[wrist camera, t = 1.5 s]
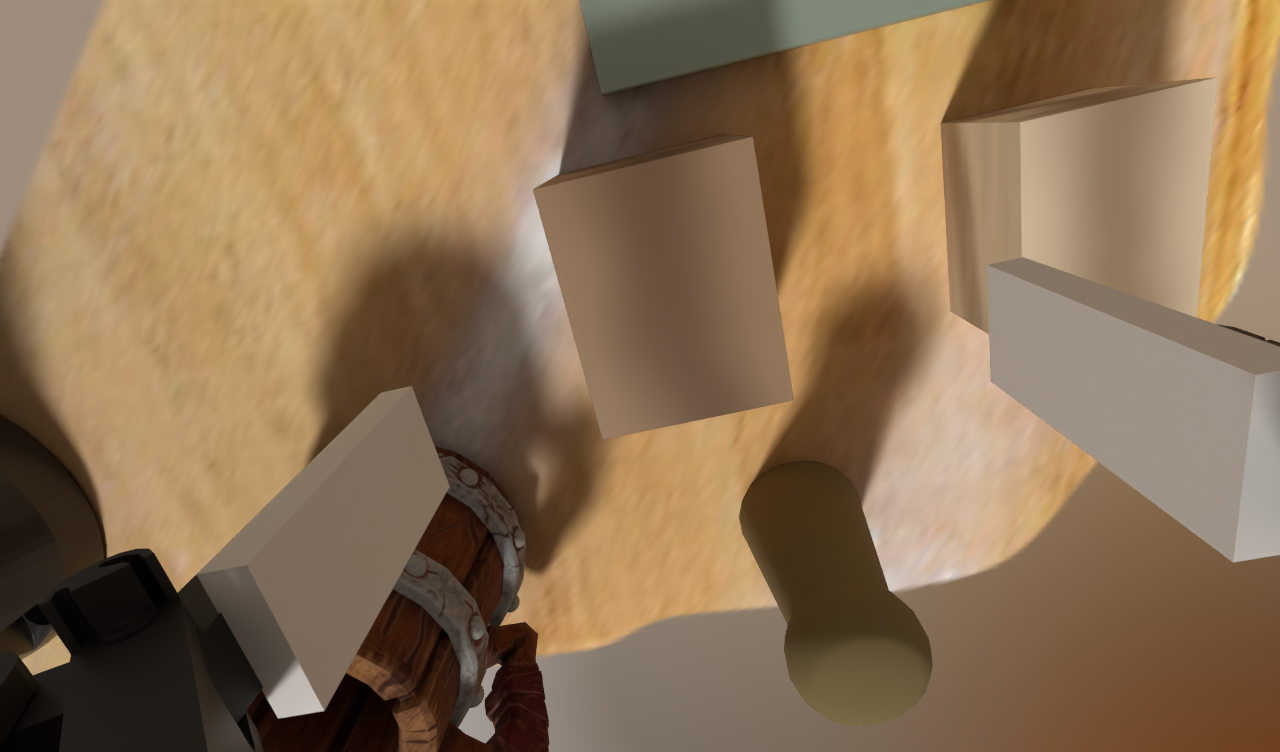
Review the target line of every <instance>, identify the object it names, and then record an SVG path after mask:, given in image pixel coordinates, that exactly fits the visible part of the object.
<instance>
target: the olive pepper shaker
mask: <svg viewBox="0 0 1280 752" xmlns="http://www.w3.org/2000/svg"><path fill="white" fill-rule="evenodd" d="M739 519H740V524H741V529H742V533H743V535H744V537H745V539H746V541H747V543H748V545H749V547H750V549H751V551H752V553H753V555H754V557H755V560H756V562H757V564H758V566H759V568H760V570H761V572H762V574H763V576H764V578H765V580H766V582H767V584H768V586H769V588H770V590H771V592H772V594H773V596H774V598H775V600H776V602H777V604H778V606H779V608H780V610H781V612H782V614H783V616H784V618H785V620H786V622H787V624H788V626H787V631H786V635H785V646H784V652H785V657H786V662H787V667H788V671H789V675H790V679H791V681H792V682H793V684H794V685H795V687H796V689H797V690H798V692H799V693H800V695H801V696H802V698H803V699H804V701H805V702H806V703H807V704H808V705H809V706H811V707H812V708H813V709H815V710H816V711H817V712H819V713H820V714H821V715H823V716H824V717H826V718H827V719H828V720H831V721H834V722H837V723H840V724H843V725H850V726H870V725H876V724H882V723H885V722H888V721H890V720H892V719H895V718H897V717H900V716H901V715H903V714H904V713H906V712H907V711H908V710H910V709H911V708H912V707H914V706H915V705H916V703H917V702H918V701H919V700H920V698H921V697H922V696H923V695H924V693H925V691H926V688H927V685H928V682H929V679H930V675H931V671H932V655H931V648H930V643H929V639H928V636H927V635H926V633H925V631H924V629H923V627H922V626H921V624H920V622H919V620H918V619H917V617H916V615H915V614H914V612H913V611H912V610H911V609H910V608H909V607H908V606H907V605H906V604H905V603H904V602H902V601H901V600H900V599H899V598H898V597H896V596H895V595H894V594H893V593H892V592H890V591H889V589H888V586H887V583H886V580H885V577H884V574H883V571H882V568H881V565H880V562H879V559H878V556H877V553H876V550H875V546H874V543H873V540H872V537H871V534H870V531H869V528H868V525H867V522H866V519H865V516H864V513H863V510H862V507H861V504H860V500H859V497H858V495H857V493H856V491H855V489H854V487H853V485H852V484H851V482H850V480H849V479H847V478H846V477H845V476H844V475H843V474H842V473H840V472H839V471H838V470H837V469H834V468H832V467H829V466H827V465H824V464H822V463H817V462H805V461H799V462H794V463H789V464H783V465H780V466H778V467H776V468H774V469H772V470H770V471H768V472H766V473H764V474H763V475H762V476H761V477H760V478H759V479H758V480H757V481H756V482H755V483H753V484H752V485H751V486H750V488H749V490H748V492H747V493H746V495H745V497H744V499H743V501H742V505H741V510H740V516H739Z"/></svg>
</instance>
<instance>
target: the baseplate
mask: <svg viewBox="0 0 1280 752" xmlns="http://www.w3.org/2000/svg"><path fill="white" fill-rule="evenodd" d="M985 1H989V0H580V3H581V7H582V12H583V16H584V21H585V25H586V29H587V34H588V38H589V43H590V47H591V51H592V56H593V60H594V65H595V69H596V74H597V78H598V82H599V87H600V91H601V94H602V95H607V94H611V93H615V92H620V91H624V90H628V89H632V88H636V87H640V86H644V85H648V84H652V83H656V82H660V81H664V80H668V79H672V78H676V77H680V76H684V75H689V74H693V73H697V72H701V71H705V70H709V69H713V68H717V67H721V66H725V65H729V64H733V63H737V62H741V61H745V60H749V59H753V58H758V57H762V56H766V55H770V54H774V53H778V52H782V51H786V50H790V49H794V48H798V47H802V46H806V45H810V44H814V43H818V42H822V41H827V40H831V39H835V38H839V37H843V36H847V35H851V34H855V33H859V32H863V31H867V30H871V29H875V28H879V27H883V26H887V25H891V24H895V23H900V22H904V21H908V20H912V19H916V18H920V17H924V16H928V15H932V14H936V13H940V12H944V11H948V10H952V9H956V8H960V7H964V6H969V5H973V4H977V3H981V2H985Z"/></svg>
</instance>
